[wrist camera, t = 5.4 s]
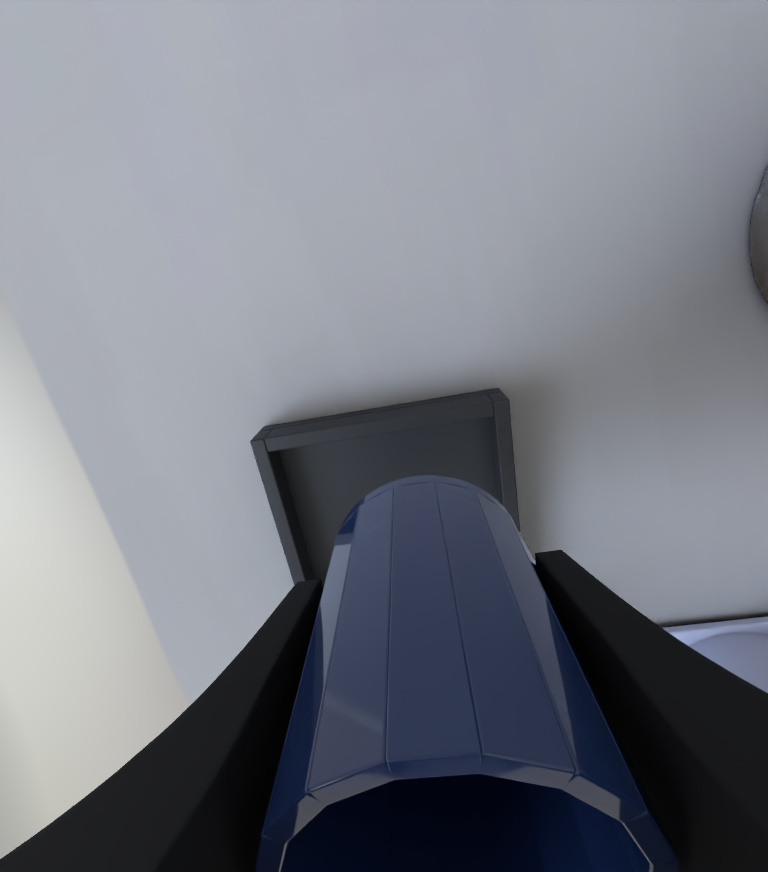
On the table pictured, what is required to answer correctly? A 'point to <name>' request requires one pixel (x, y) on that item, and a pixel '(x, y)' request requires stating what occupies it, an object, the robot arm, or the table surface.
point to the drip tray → (378, 464)
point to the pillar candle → (760, 238)
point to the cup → (450, 710)
